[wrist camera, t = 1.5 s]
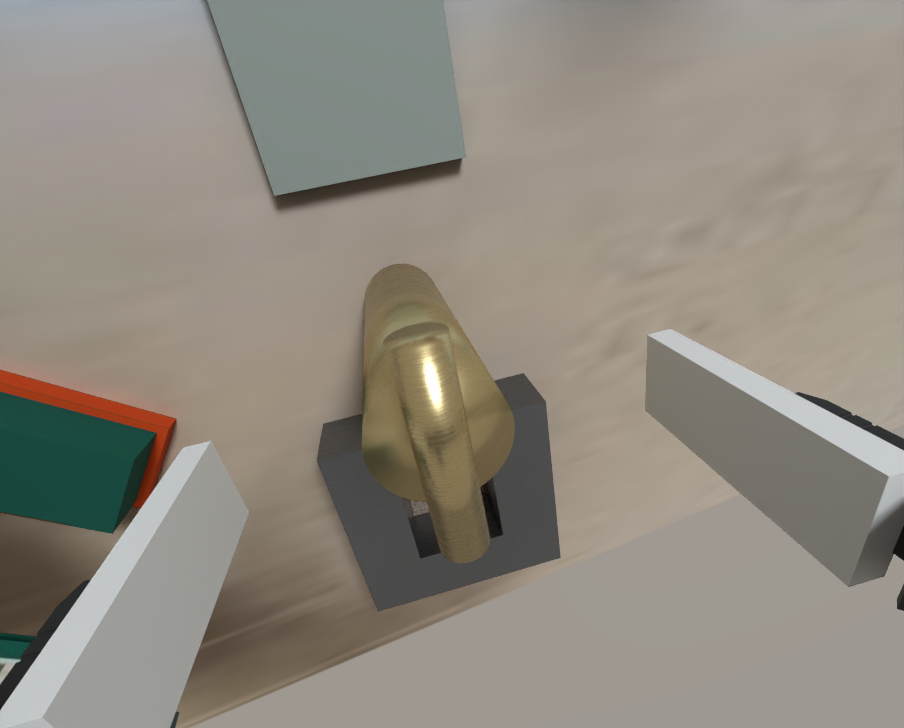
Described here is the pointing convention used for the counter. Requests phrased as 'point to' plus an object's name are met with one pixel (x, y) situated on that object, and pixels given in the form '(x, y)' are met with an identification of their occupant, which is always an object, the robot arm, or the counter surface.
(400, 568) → the chuck block
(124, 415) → the power tool
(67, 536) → the counter surface
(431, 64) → the pad
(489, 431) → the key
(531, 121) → the counter surface
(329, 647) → the counter surface
